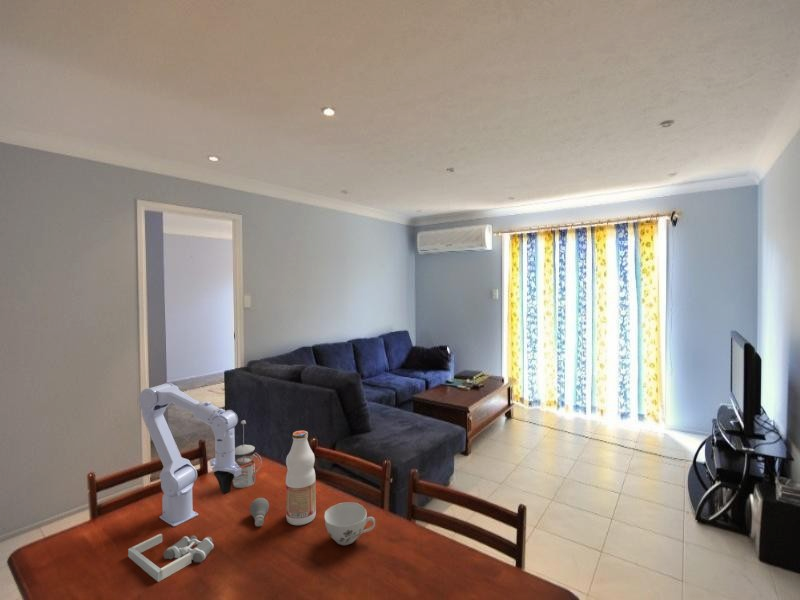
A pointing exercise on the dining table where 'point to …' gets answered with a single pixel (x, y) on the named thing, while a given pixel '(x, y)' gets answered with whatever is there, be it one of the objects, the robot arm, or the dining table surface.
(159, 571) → the u-shaped open frame
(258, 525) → the light bulb
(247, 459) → the french press
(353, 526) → the teacup
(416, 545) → the dining table surface
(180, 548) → the binoculars
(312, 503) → the fruit juice
